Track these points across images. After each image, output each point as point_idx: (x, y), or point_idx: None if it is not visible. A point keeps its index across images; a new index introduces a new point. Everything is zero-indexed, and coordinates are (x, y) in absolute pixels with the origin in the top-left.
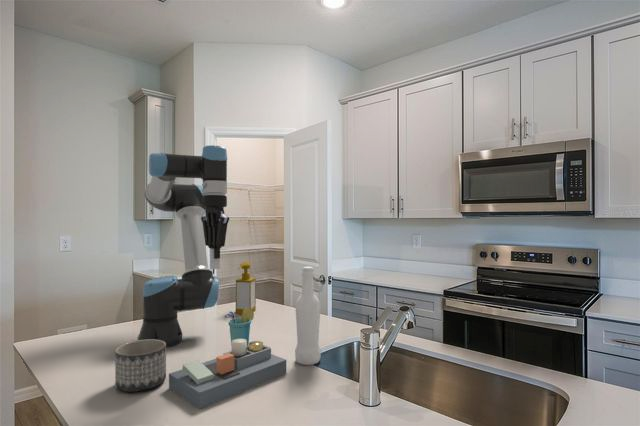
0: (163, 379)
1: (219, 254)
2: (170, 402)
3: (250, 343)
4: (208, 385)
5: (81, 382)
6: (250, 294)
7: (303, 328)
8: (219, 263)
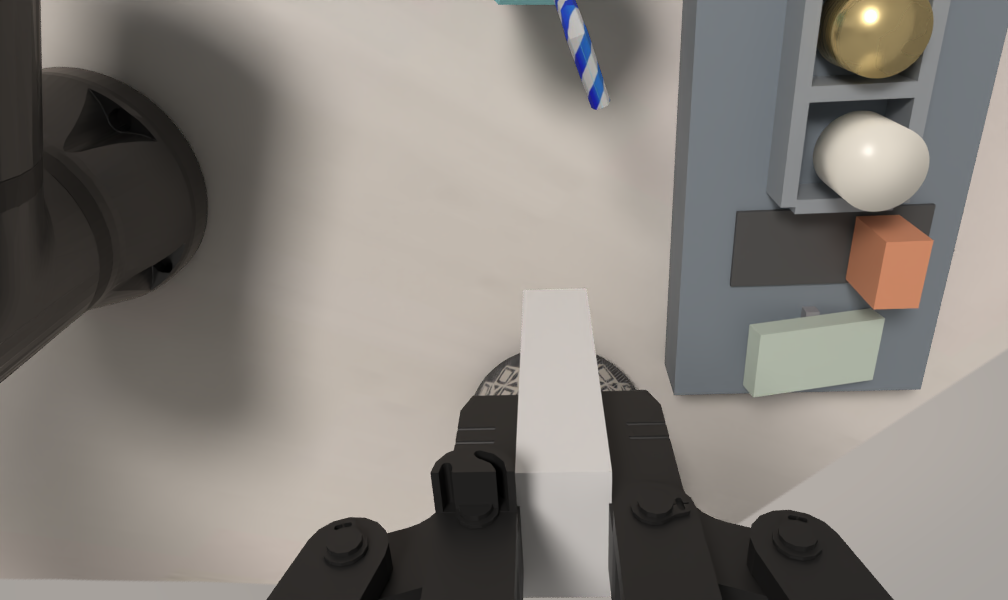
0: (624, 377)
1: (668, 440)
2: (766, 398)
3: (857, 59)
4: (901, 344)
5: (397, 522)
6: None
7: None
8: (589, 324)
